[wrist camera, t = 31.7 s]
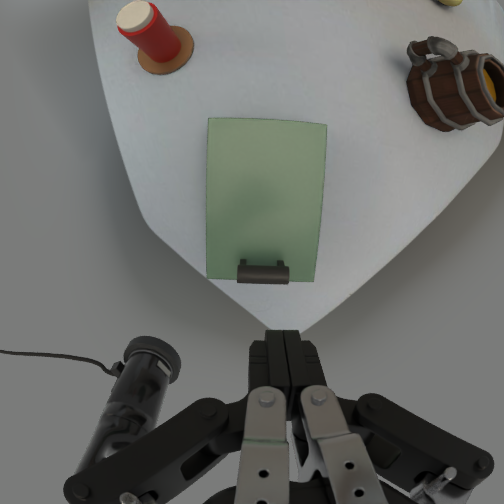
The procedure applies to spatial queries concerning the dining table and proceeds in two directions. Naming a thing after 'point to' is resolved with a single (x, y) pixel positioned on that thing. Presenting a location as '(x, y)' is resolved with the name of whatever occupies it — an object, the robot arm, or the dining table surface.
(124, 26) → the sauce bottle
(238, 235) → the chest lid
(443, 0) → the fruit
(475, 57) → the mug
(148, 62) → the disc
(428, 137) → the dining table surface
